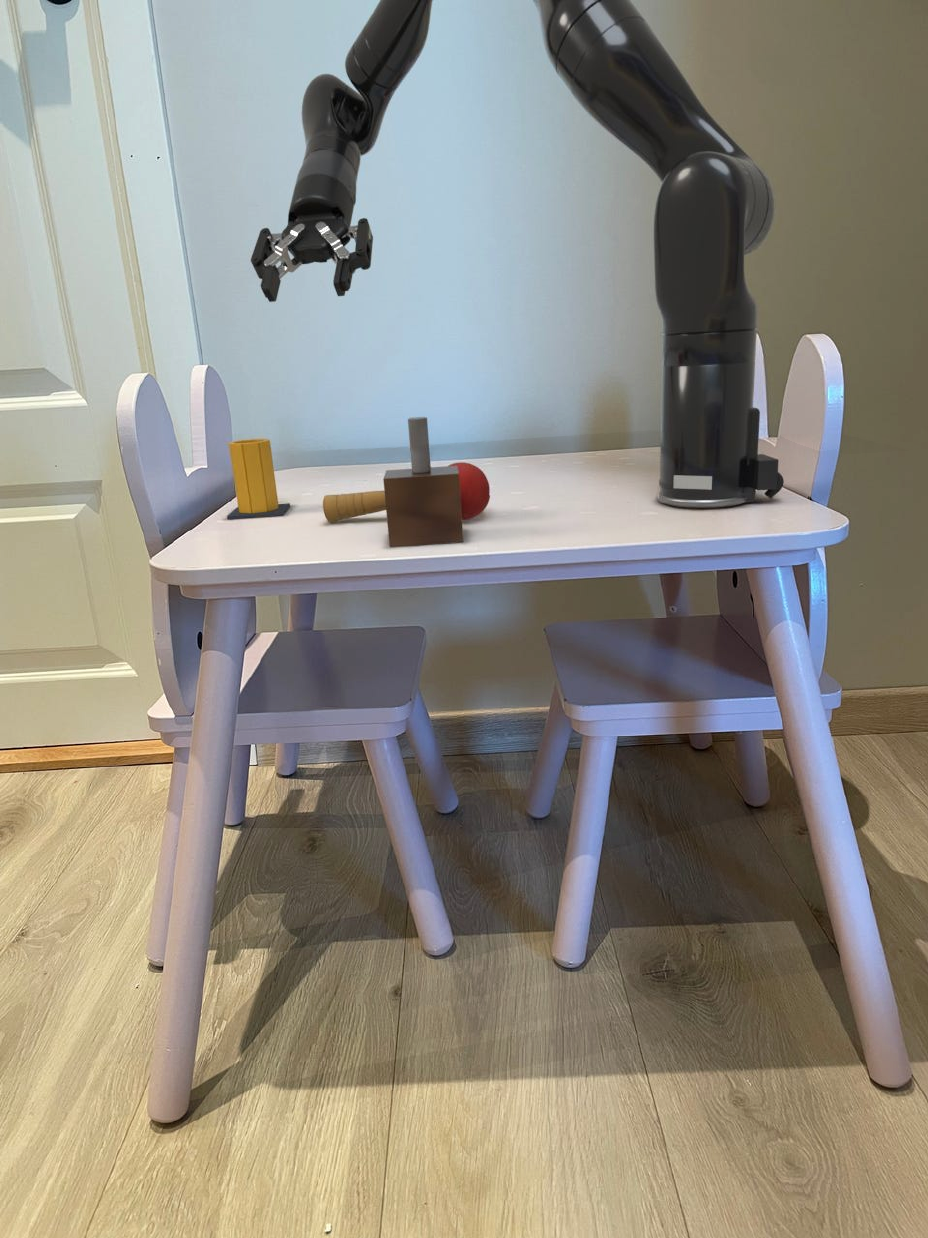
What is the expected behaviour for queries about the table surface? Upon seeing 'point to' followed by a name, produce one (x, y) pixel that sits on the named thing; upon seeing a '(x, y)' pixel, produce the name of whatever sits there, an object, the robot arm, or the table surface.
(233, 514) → the coaster
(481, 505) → the kendama
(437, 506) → the stand
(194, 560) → the table surface
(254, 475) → the sleeve
